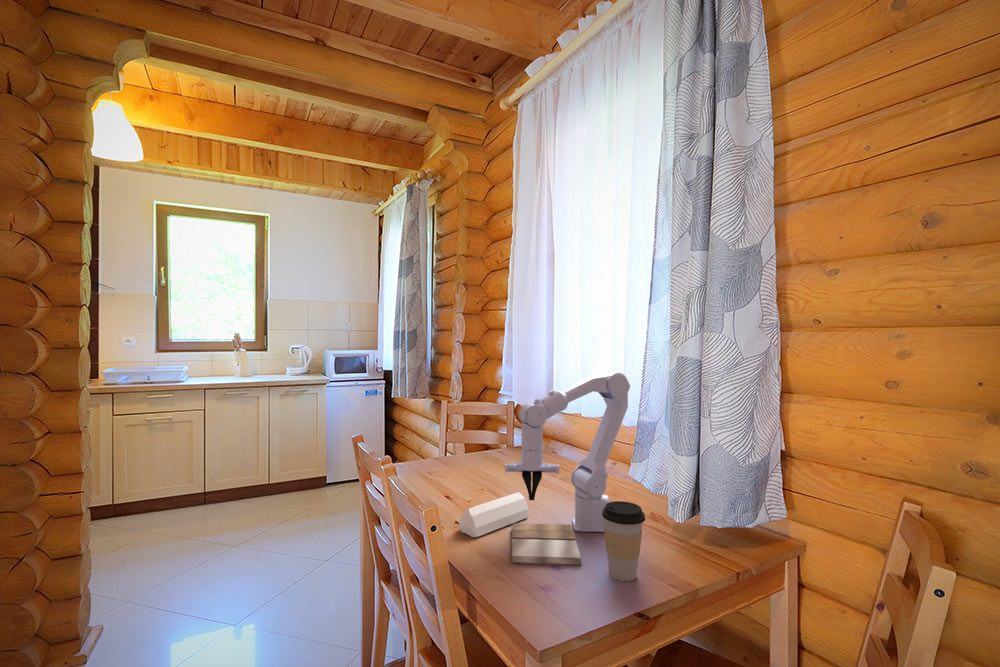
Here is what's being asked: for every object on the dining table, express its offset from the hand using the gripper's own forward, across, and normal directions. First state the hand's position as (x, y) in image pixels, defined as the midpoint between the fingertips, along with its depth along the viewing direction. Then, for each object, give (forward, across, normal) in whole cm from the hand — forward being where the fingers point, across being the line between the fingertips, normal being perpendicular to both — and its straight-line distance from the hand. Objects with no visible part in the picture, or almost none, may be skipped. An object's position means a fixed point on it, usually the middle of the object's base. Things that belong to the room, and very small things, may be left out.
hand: (531, 499), depth 124 cm
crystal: (+10, +10, -6) cm, 15 cm away
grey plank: (+9, -3, +12) cm, 15 cm away
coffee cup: (+10, -20, +20) cm, 30 cm away
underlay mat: (+9, -3, +6) cm, 12 cm away
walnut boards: (+9, -3, +2) cm, 10 cm away
